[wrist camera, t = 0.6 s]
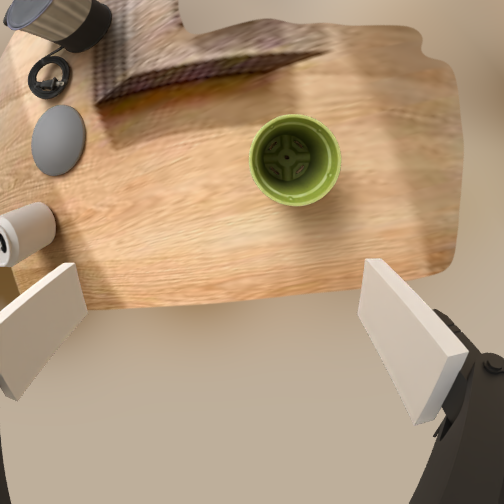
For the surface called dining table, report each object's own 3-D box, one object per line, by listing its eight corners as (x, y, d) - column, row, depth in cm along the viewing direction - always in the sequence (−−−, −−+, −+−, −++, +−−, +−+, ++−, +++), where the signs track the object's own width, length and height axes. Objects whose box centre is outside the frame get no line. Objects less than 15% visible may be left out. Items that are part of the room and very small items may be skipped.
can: (64, 239, 40) (18, 267, 29) (36, 248, 40) (-8, 275, 29) (51, 195, 37) (1, 213, 26) (24, 207, 38) (-23, 226, 27)
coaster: (34, 113, 33) (31, 113, 32) (86, 98, 33) (83, 98, 32) (36, 178, 36) (33, 179, 36) (86, 170, 36) (83, 171, 36)
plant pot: (337, 154, 36) (359, 156, 27) (291, 208, 38) (301, 224, 30) (281, 108, 34) (289, 95, 26) (235, 163, 36) (229, 166, 28)
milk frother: (115, -4, 27) (69, -44, 13) (110, 80, 32) (48, 58, 18) (45, 26, 27) (-9, 6, 13) (39, 106, 32) (-27, 103, 18)
